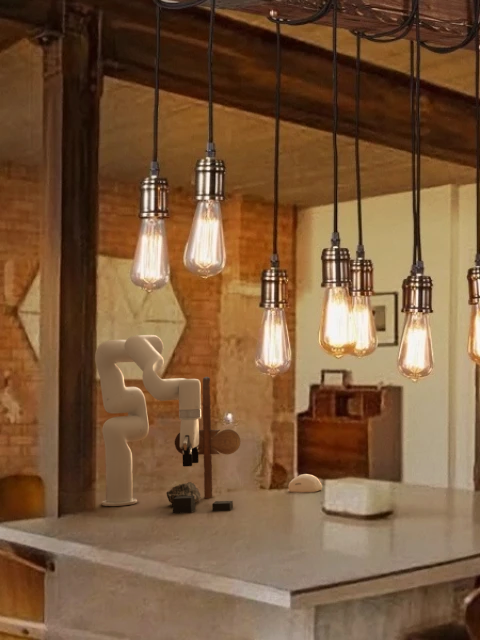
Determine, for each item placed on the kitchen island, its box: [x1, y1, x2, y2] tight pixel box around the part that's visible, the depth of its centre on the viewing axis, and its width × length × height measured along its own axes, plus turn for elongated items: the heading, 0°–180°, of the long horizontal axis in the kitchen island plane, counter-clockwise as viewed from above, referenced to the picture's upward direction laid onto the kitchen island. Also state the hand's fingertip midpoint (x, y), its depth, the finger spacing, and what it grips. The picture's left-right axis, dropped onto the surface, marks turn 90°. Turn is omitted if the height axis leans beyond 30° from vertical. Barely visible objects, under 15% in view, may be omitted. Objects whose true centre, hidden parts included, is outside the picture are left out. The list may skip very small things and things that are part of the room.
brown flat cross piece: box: [174, 376, 241, 499], centre depth 408 cm, size 25×4×45 cm, turn 81°
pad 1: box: [173, 496, 196, 506], centre depth 374 cm, size 6×6×2 cm
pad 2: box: [211, 500, 234, 512], centre depth 376 cm, size 6×6×2 cm
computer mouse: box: [287, 473, 323, 493], centre depth 417 cm, size 6×13×6 cm, turn 75°
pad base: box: [172, 502, 196, 514], centre depth 374 cm, size 6×6×2 cm
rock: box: [166, 481, 202, 506], centre depth 393 cm, size 18×10×10 cm
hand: (190, 464), depth 375 cm, fingers open, 9 cm apart
